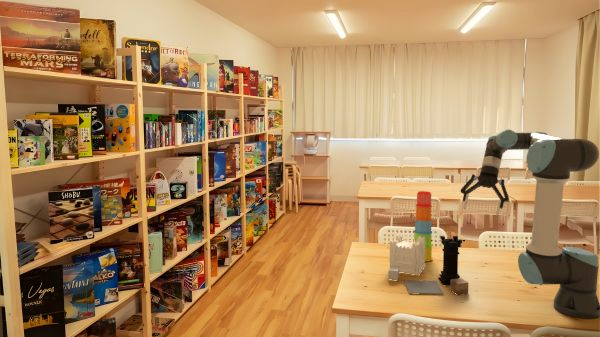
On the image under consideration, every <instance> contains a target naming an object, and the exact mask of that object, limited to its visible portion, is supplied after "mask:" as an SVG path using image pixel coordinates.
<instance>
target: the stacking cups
mask: <svg viewBox="0 0 600 337" xmlns="http://www.w3.org/2000/svg"><path fill="white" fill-rule="evenodd" d="M432 207H433V205H432V193H431V191H426V190H425V191H424V190H421V191H417V193H416V204H415V217H414V230H413V233H414V236H413V240H414V241H415V242H416V241H418V237H419V236H422V237H425V262H431V261H433V260H434V257H432V256H433V255H432V247H433V246H434V244H432V234H433V231H432V221H433V218H432ZM432 259H433V260H432ZM430 260H431V261H430Z"/></svg>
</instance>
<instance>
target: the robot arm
mask: <svg viewBox="0 0 600 337" xmlns="http://www.w3.org/2000/svg"><path fill="white" fill-rule="evenodd" d="M485 147H486V148H485V151H484V156H483V158H482V164H481V169H480V172H479V175H475V174H474V173H472V175H471V176H470V178H469V180H468V181H467V182H466V183H465V184H464V185H463V186H462V188H461V189H460V194H463V198H462V202H464V204H463V210H466V208H467V205H468V201H469V197H470V195H469V194H471V193H472V192H474V191H475V190H476V189H478V188H481V187H482V188H488V189H491V188H492V190H493V191H494V192H495V194H496V195H497V197H498V198H499V200H498V204H497V209H496V213H495V216H496V217H498V216H499V213H500V209H503V208H504V204H505V202H507V203H508V202H509V201H510V197H509V194H508V192H507V188H506V186H505V179H504V178H503V179H499V172H500V168H501V163H502V159H503V154H504V153H506V152H507V151H509V150H511V151H513V150H514V151H517V150H519V151H521V150H527V154H526V158H525V159H526V160H525V162H526V164H527V165H526V167H527V169H528V170H529V171H530V172H531V174H532V175H531V176H532V177H533V179H535V182H536V185H535V195H534V196H535V197H534V205H533V206H534V207H533V219H532V228H531V229H532V230H531V240H530V242H529V243H528V244H527V245H526V247H525V251H524V252H521V253H519V255H518V259H517V265H518V268H519V272H520V274H521V276H522V278H523V279H524V281H525V282H526V283H528V284H529V285H535V286H536V285H538V286H543V285H544V286H547V285H548V286H549V285H550V286H551V285H559V288H558V290H557V292H556V294H555V296H554V298H553V305H552V306H553V308H554V309H555V310H557V311H558V312H559V313H561V314H563V315H566V316H570V317H574V318H578V319H589V320H591V319H597V318H599V317H600V301H599V300H600V299H599V298H598V295H597V290H598V289H597V288H598V276H599V268H600V265H599V256H598V255H597V254H596V253H595V252H592V251H590V250H587V249H583V248H580V247H575V246H574V247H573V246H564V247H562V248H560V247H559V236H560V228H561V217H562V209H563V208H562V206H563V198H564V185H565V183H566V182H567V181H569V179H570V177H571V173H573V172H577V173H578V172H583V171H586V170H589V169H591V168H592V167H594V166H595V165H596V164H597V162H598V160H599V158H600V151H599V148H598V146H597V145H596V144H595V143H594V142H593V141H591V140H589V139H585V138H563V137H558V136H553V135H549V134H548V133H547V132H541V131H536V132H535V131H534V132H515V131H514V130H512V129H509V128H508V129H507V128H506V129H504V130H502V131H501V132H499V133H498V134H497V135H491V136H489V138H488V139H487V142H486V146H485ZM476 180H478V181H477V182H476V183H474V181H476ZM473 183H474V184H473ZM472 184H473V185H472ZM497 184H499V186H501V190H502V193H501V191H500V190H499V188H498V187H497ZM471 185H472V186H471Z"/></svg>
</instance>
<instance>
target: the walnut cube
mask: <svg viewBox="0 0 600 337" xmlns="http://www.w3.org/2000/svg"><path fill="white" fill-rule="evenodd" d="M449 287H450V290H451V292H452V291H453V292H454V293H453V292H452V293H453V294H455V293H456V294H457V295H456V294H455V295H456V296H462V295H461V294H464V295H469V282H468V281H467V280H466V279H463V278H462V277H460V278H458V279H451V286H449ZM450 290H449V291H450Z"/></svg>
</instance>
